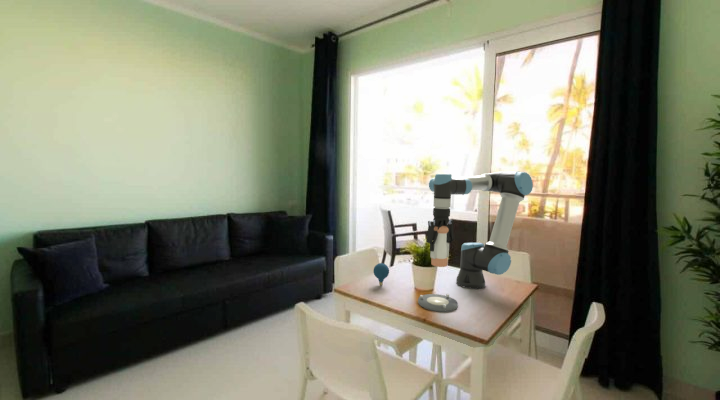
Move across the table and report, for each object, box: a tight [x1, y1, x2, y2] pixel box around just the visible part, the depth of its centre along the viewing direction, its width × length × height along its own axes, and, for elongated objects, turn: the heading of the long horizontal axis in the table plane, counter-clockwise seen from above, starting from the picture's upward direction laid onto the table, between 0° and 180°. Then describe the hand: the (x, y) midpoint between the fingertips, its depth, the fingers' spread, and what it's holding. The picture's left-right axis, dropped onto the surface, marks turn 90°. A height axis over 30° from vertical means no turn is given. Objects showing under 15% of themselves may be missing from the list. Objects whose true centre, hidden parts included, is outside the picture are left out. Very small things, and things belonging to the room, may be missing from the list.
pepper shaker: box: [430, 226, 449, 268], centre depth 151 cm, size 7×7×19 cm
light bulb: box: [373, 262, 390, 286], centre depth 176 cm, size 8×8×12 cm
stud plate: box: [417, 293, 459, 313], centre depth 154 cm, size 18×18×3 cm
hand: (439, 257), depth 152 cm, fingers closed on pepper shaker, 7 cm apart
